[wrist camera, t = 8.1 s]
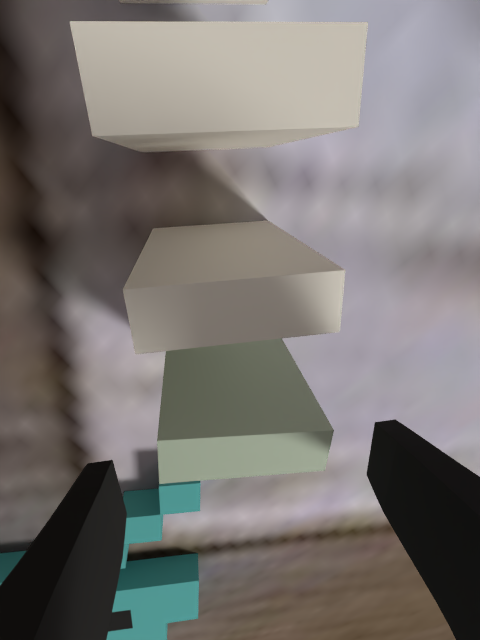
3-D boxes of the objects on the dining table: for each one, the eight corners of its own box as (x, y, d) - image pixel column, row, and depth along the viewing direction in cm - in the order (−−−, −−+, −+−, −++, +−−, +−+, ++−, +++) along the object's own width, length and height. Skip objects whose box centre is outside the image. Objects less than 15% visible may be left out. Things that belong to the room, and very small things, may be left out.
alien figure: (-194, 479, 17) (-72, 671, 25) (-243, 520, 15) (-94, 714, 23) (198, 452, 21) (196, 630, 29) (200, 483, 19) (197, 665, 27)
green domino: (267, 346, 18) (324, 470, 10) (169, 348, 17) (159, 484, 10) (270, 318, 17) (333, 430, 10) (168, 318, 16) (157, 440, 9)
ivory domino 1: (267, 147, 14) (358, 127, 7) (142, 152, 13) (92, 136, 6) (267, 101, 13) (368, 22, 6) (135, 104, 13) (69, 21, 5)
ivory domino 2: (268, 256, 16) (339, 331, 8) (158, 264, 15) (135, 354, 8) (267, 220, 15) (345, 270, 8) (153, 228, 14) (122, 289, 7)
